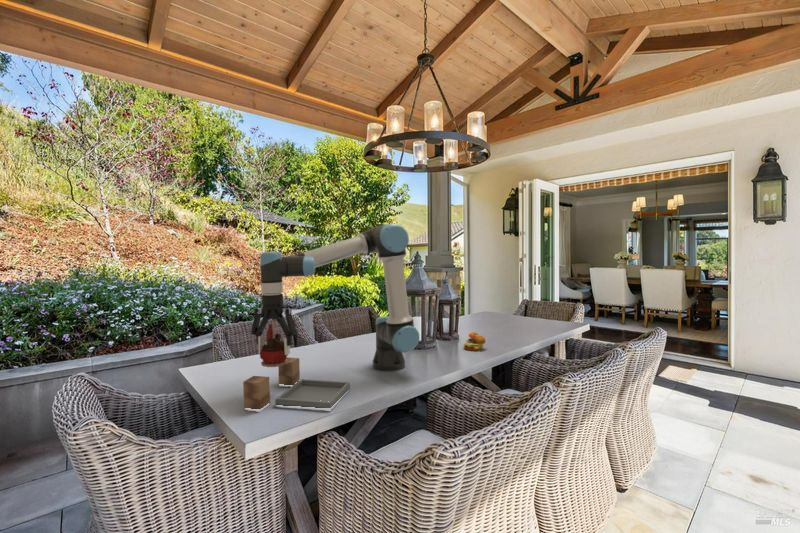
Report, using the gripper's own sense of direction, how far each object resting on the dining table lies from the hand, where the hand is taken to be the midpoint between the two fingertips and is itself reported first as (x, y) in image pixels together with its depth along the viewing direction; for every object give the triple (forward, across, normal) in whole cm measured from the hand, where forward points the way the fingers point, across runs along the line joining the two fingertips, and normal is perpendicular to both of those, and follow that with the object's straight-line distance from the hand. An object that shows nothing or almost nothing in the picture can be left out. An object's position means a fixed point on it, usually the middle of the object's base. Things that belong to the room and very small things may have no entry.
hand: (274, 353), depth 141 cm
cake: (+4, 0, 0) cm, 4 cm away
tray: (+16, -16, 0) cm, 22 cm away
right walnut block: (+16, 0, -11) cm, 19 cm away
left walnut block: (+16, 0, +12) cm, 20 cm away
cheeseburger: (+17, -72, -79) cm, 108 cm away
